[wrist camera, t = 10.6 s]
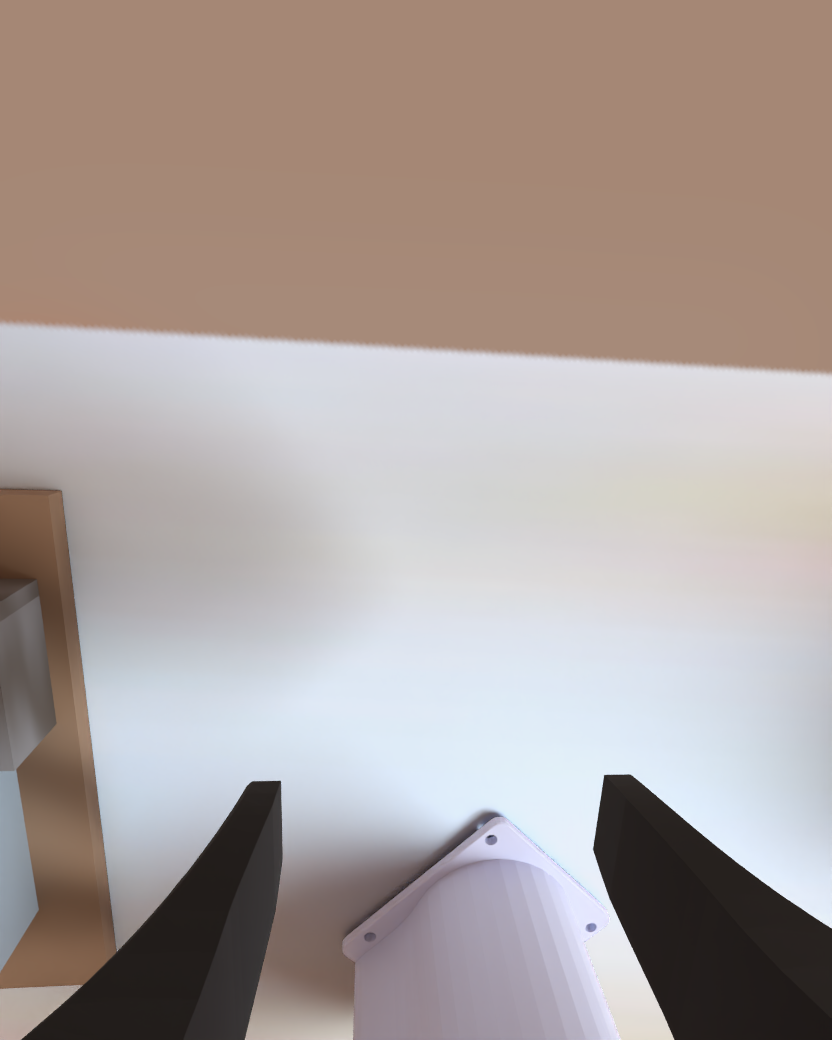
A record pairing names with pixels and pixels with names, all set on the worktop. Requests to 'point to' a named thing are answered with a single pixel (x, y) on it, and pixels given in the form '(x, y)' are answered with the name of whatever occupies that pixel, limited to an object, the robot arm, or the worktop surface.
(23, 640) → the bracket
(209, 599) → the worktop surface
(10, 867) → the rail
